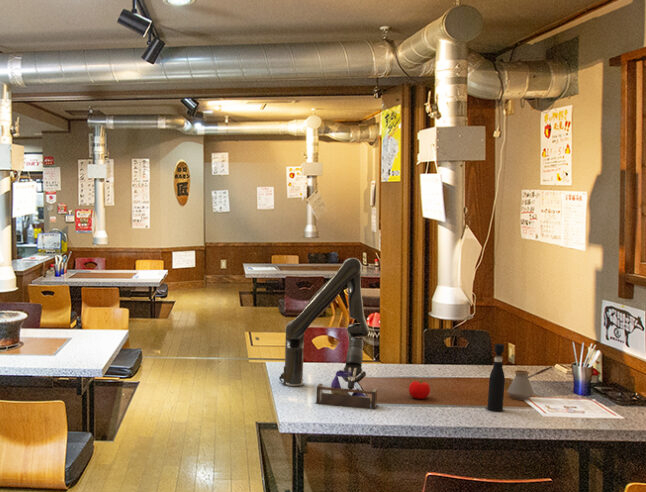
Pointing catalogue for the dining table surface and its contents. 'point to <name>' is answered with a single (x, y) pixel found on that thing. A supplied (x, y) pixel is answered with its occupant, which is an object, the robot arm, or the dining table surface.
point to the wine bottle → (496, 382)
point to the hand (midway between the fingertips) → (350, 388)
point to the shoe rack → (346, 397)
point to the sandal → (337, 385)
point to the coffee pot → (522, 385)
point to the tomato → (419, 389)
